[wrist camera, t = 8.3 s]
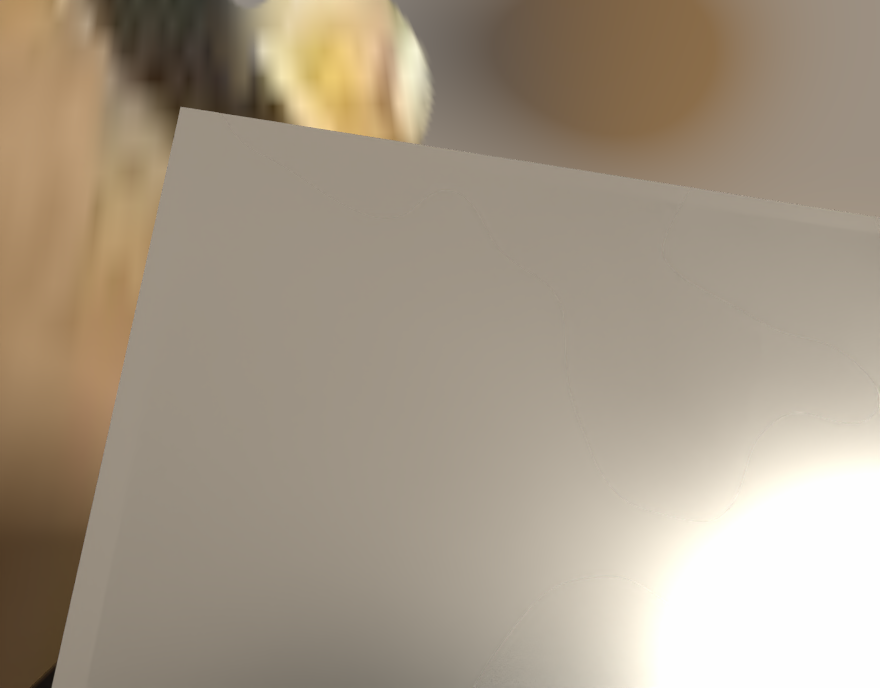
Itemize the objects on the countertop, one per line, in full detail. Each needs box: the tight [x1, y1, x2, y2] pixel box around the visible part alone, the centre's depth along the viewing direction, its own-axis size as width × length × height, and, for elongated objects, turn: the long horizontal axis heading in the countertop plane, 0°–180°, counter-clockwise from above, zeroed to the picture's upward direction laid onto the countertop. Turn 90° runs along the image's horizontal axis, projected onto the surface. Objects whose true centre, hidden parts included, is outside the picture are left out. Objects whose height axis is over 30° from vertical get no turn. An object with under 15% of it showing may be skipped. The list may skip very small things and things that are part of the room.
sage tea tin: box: [52, 107, 880, 688], centre depth 9 cm, size 5×5×14 cm
